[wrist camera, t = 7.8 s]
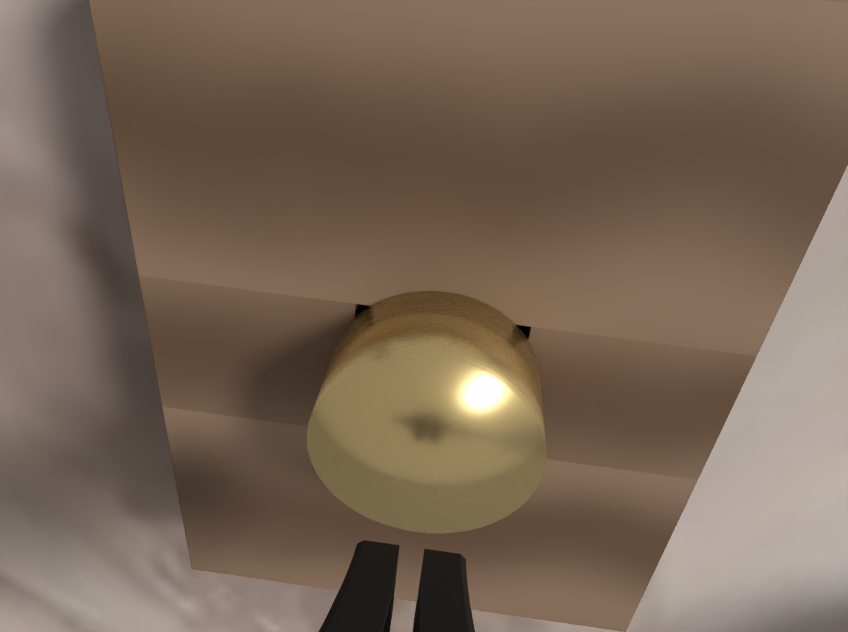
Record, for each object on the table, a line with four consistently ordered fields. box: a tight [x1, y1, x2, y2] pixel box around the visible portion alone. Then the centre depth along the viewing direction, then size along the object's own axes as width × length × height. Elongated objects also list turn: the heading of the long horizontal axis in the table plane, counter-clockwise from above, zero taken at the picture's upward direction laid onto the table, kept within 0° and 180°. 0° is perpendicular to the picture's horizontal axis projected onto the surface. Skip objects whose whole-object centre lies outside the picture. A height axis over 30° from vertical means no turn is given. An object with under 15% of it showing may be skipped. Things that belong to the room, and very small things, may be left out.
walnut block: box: [89, 0, 848, 632], centre depth 17 cm, size 18×14×4 cm
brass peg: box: [307, 291, 546, 533], centre depth 16 cm, size 5×5×6 cm
